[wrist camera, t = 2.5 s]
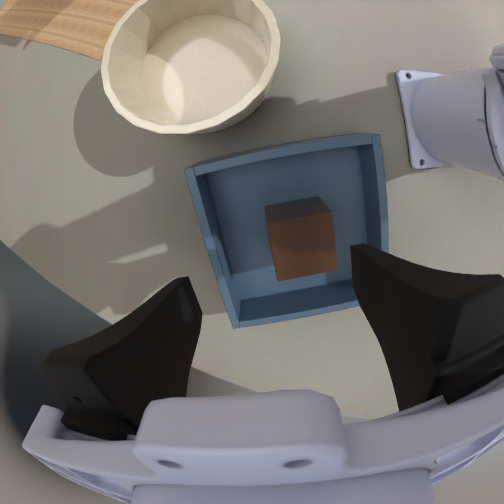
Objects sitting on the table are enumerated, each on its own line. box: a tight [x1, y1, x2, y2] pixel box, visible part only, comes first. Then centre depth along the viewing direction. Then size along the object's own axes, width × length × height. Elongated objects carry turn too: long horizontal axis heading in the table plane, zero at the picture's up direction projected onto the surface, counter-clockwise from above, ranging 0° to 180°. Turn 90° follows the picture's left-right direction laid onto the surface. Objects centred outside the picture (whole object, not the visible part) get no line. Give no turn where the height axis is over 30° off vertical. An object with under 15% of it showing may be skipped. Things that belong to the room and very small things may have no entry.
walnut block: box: [264, 196, 338, 282], centre depth 18 cm, size 4×4×4 cm
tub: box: [184, 133, 388, 329], centre depth 19 cm, size 12×12×3 cm
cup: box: [101, 0, 281, 134], centre depth 13 cm, size 10×10×6 cm
